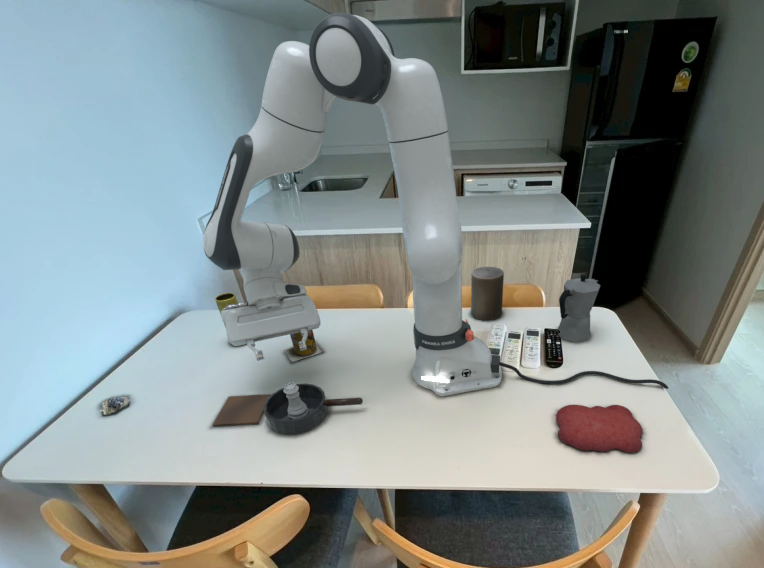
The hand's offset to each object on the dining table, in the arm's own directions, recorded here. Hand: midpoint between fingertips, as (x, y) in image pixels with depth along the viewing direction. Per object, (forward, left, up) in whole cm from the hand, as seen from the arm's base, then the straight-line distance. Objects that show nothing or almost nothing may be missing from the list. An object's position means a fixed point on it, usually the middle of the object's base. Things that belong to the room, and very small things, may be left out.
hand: (282, 354), depth 93 cm
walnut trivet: (+11, +5, -12) cm, 17 cm away
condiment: (+2, -19, -12) cm, 23 cm away
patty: (-68, +18, -12) cm, 71 cm away
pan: (-3, +8, -12) cm, 14 cm away
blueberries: (+43, +1, -12) cm, 45 cm away
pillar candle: (-52, -36, -12) cm, 64 cm away
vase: (+22, -27, -12) cm, 37 cm away
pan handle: (-13, +8, -9) cm, 18 cm away
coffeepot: (-74, -20, -12) cm, 77 cm away
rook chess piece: (-3, +8, -11) cm, 14 cm away
